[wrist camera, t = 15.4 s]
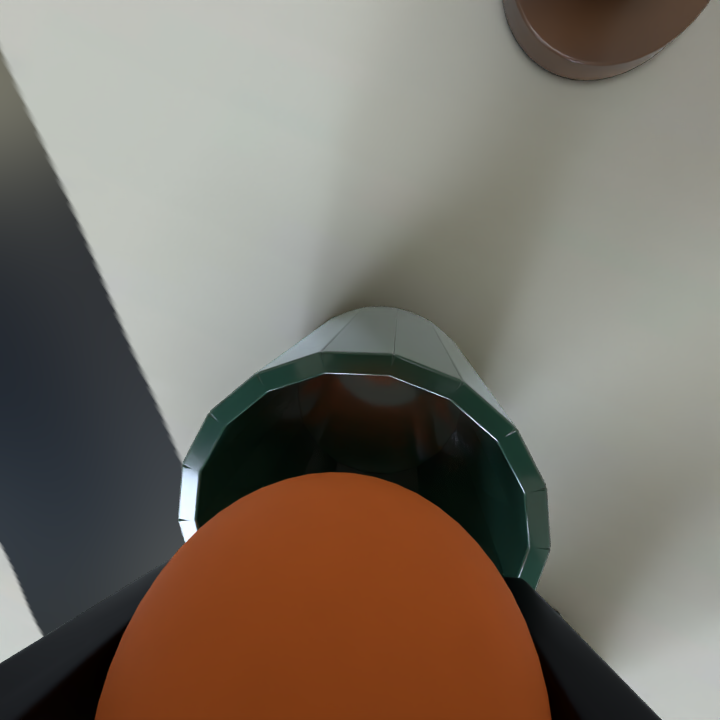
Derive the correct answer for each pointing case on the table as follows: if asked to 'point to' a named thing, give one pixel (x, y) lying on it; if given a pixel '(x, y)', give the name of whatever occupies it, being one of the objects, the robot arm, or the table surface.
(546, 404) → the table surface
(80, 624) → the robot arm
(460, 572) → the ball
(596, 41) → the ball stand
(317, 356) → the green cup
